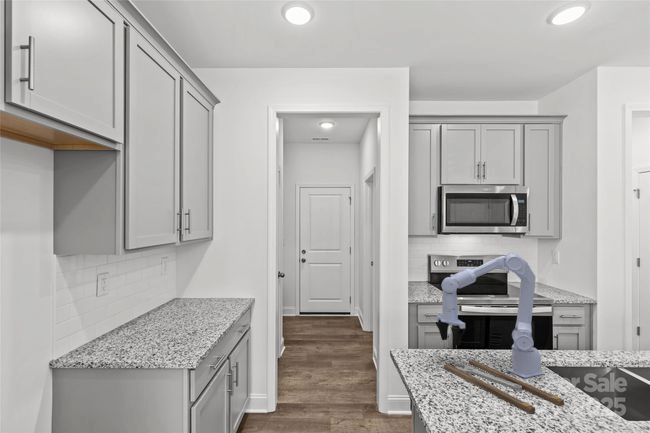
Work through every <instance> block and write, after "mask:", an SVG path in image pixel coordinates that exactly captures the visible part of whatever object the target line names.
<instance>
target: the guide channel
mask: <svg viewBox="0 0 650 433" xmlns="http://www.w3.org/2000/svg"><path fill="white" fill-rule="evenodd" d="M469 364H470V365H469ZM468 365H469V366H472V365H473V366H472V367H474V366H475V367H474V368H476V367H478V368H480V369H482V370H484V371H483V372H485V371H486V372H485V373H487V372H488V373H487V374H489V373H490V374H489V375H491V374H492V375H491V376H493V375H494V377H495V376H496V377H498V378H500V379H503V380H506V381H509V382H512V383H515V384H518V385H521V386H522V390H524V391H526V392H528V393H530V394H533V395H534V396H536V397H538V398H541V399H543V400H545V401H547V402H550V403H552V404H554V405H556V406H558V407H562V406H564V405H565V400H564V399H562V398H561V397H560V396H558V395H554V394H552V393H549V392H547V391H545V390H542V389H540V388H537V387H535V386H533V385H531V384H528V383H526V382H524V381H522V380H520V379H518V378H515V377H513V376H510V375H509V374H506V373H504V372H502V371H499V370H497V369H496V368H492V367H490V366H488V365H486V364H483V363H481V362H479V361H476V359H469V360H468ZM455 367H456V366H453V365H451V364H449V363H446V364H443V369H444V370H446V371H447V372H450V373H452V374H454V375H455V376H458V377H459V378H460V379H463V380H464V381H466V382H468V381H469V383H470V382H471V384H472V383H473V384H472V385H474V384H475V385H474V386H476V385H477V386H476V387H478V386H479V388H480V387H481V388H480V389H482V388H483V389H482V390H484V391H486V392H487V391H488V393H489V392H490V394H491V393H492V394H491V395H493V394H494V395H493V396H495V397H497V398H499V399H501V400H503V401H504V402H507V403H508V402H509V403H508V404H510V403H511V405H512V404H513V406H514V407H516V408H518V409H520V410H522V411H524V412H526V413H527V414H530V415H532V414H535V413H536V407H535V406H533V405H532V404H530V403H528V402H525V401H524V400H521V399H519V398H518V397H515V396H513V395H511V394H509V393H507V392H505V391H503V390H501V389H500V388H497V387H495V386H494V385H491V384H489V383H487V382H485V381H482V380H481V379H480V378H477V377H476V376H474V375H471V374H467V373H465V372H463V371H461V370H459V369H457V368H455ZM478 368H477V369H478ZM480 369H479V370H480ZM482 370H481V371H482Z"/></svg>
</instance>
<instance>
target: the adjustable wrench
mask: <svg viewBox="0 0 650 433" xmlns="http://www.w3.org/2000/svg"><path fill="white" fill-rule="evenodd" d="M454 367H455V368H457V369H459V370H461V371H463V372H465V373H467V374H469V375H471V374H474V375H473V376H475V375H477V376H476V377H478V376H480V377H479V378H481V377H482V378H481V379H483V378H485V379H484V380H486V379H488V380H487V381H489V380H490V382H492V381H493V383H495V384H497V383H498V385H500V384H501V385H500V386H503V385H504V387H506V388H508V387H509V389H511V388H512V390H515V391H517V390H518V391H522V390H523V389H522V386H521V385H518V384H515V383H512V382H509V381H506V380H503V379H500V378H497V377H495V376H493V375H491V374H489V373H487V372H484V371H483V372H482V371H479V370H477V369H475V368H473V366H472V365H469V364H465V363H457V366H454Z"/></svg>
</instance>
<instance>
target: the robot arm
mask: <svg viewBox="0 0 650 433" xmlns="http://www.w3.org/2000/svg"><path fill="white" fill-rule="evenodd" d="M506 269H507V270H509V271H510V272H512V273H514V274H515V275H516V276H517V277H518V278H519V280H520V284H519V295H518V306H517V316H516V322H515V328H514V329H513V330H512V333H511V338H512V339H513V344H512V345H511V359H512V360H511V361H512V362H511V363H512V368H507V369H506V371H508V372H509V373H512V374H515V375H517V376H519V377H522V378H523V379H527V378H532V377H536V376H541V375H544V372H543V371H542V361H541V360H542V358H541V357H542V356H541V353H540V351H539V350H538V349H537V348H536V347H534V340H533V336H532V334H533V333H532V332H533V331H532V320H533V319H532V318H533V310H534V307H533V306H534V300H535V297H534V296H535V288H536V274H535V273H534V272H533V270H532V268H531V267H530V265H529V263H528V261H527V260H525V259H524V258H523V257H522V256H520V255H519V254H517V253H514V252H510V253H507V254H506V255H502V256H501V255H500V256H498V257H495V258H493V259H491V260H489V261H488V262H485V263H483V264H481V265H480V266H477V267H476V268H473V269H471V268H466V269H465V268H462V269H461V271H459V272H456V273H455V274H450V275H449V276H447V277H445V278H444V279H443V280H442V282H441V285H440V286H441V289H442V292H441V293H442V296H441V300H442V305H441V306H442V309H441V310H442V315H441V314H439V315H436V322H435V325H436V326H437V329H438V332H439V334H440V338H441V340H442V341H447V340H448V333H449V332H448V331H449V325H452V326H451V327H450V328H451V329H450V330H451V331H452V335H453V344H454V346H461V343H462V340H463V339H462V338H463V337H464V336H463V335H464V334H465V332H466V331H467V327H466V322H463V321H462V320H460V319H459V318H458V317H459V315H458V314H459V312H458V295H457V290H458V289H462V288H464V287H466V286H469V285H471V284H473V283H475V282H476V281H477V278H478V277H480V276H483V275H485V274H488V273H491V272H492V271H495V270H501V271H502V270H504V271H505V270H506Z"/></svg>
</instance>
